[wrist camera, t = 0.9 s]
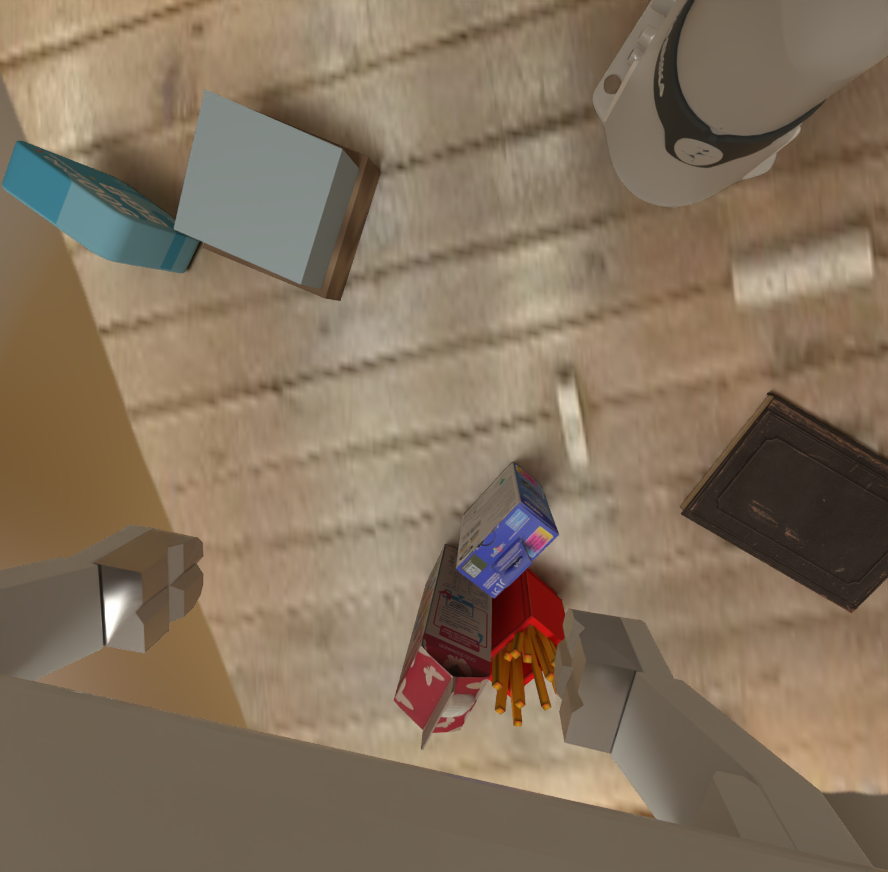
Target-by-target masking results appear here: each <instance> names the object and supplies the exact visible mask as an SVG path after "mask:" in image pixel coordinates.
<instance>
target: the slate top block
mask: <svg viewBox="0 0 888 872" xmlns="http://www.w3.org/2000/svg"><path fill="white" fill-rule="evenodd" d="M358 172H359V168H358V167H357V166H356V164H355V163H354V162H353V161H352V160H351V158H350V157H349V156H348V155H347V154H346V153H345V151H344V150H343V149H342V148H339V147H337V146H335V145H332V144H330V143H328V142H325V141H323V140H321V139H318V138H316V137H314V136H311V135H309V134H307V133H305V132H302V131H300V130H298V129H295V128H293V127H291V126H288V125H286V124H284V123H281V122H279V121H277V120H275V119H272V118H270V117H268V116H265V115H263V114H261V113H258V112H256V111H254V110H251V109H249V108H247V107H245V106H242V105H240V104H238V103H235V102H233V101H231V100H228V99H226V98H224V97H221V96H219V95H217V94H214V93H212V92H210V91H208V90H205V91H204V95H203V100H202V104H201V109H200V113H199V118H198V122H197V127H196V131H195V135H194V140H193V144H192V149H191V153H190V158H189V162H188V167H187V171H186V176H185V180H184V185H183V189H182V194H181V198H180V203H179V207H178V211H177V216H176V220H175V225H174V230H177V231H179V232H181V233H184V234H186V235H188V236H190V237H193V238H195V239H197V240H200V241H202V242H204V243H207V244H209V245H211V246H213V247H216V248H218V249H220V250H223V251H225V252H227V253H230V254H232V255H234V256H236V257H239V258H241V259H243V260H246V261H248V262H250V263H252V264H255V265H257V266H259V267H262V268H264V269H266V270H269V271H271V272H273V273H275V274H278V275H280V276H282V277H285V278H287V279H289V280H292V281H294V282H296V283H298V284H301V285H305V286H310V287H314V288H318V289H321V287H322V284H323V281H324V278H325V275H326V272H327V269H328V265H329V262H330V259H331V256H332V253H333V250H334V247H335V244H336V241H337V237H338V234H339V231H340V228H341V225H342V222H343V219H344V216H345V212H346V209H347V206H348V203H349V200H350V197H351V194H352V190H353V187H354V184H355V181H356V178H357V175H358Z"/></svg>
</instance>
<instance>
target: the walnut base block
mask: <svg viewBox="0 0 888 872" xmlns="http://www.w3.org/2000/svg"><path fill="white" fill-rule="evenodd" d="M249 109H250V108H249ZM251 110H252V109H251ZM256 112H257V111H256ZM258 113H259V112H258ZM261 114H262V113H261ZM263 115H264V114H263ZM265 116H267V115H265ZM268 117H269V116H268ZM270 118H272V117H270ZM272 119H274V118H272ZM275 120H276V119H275ZM277 121H279V120H277ZM279 122H281V121H279ZM281 123H284V122H281ZM284 124H286V123H284ZM286 125H288V126H291V125H289V124H286ZM291 127H293V128H295V129H298V130H300V131H302V132H305V133H307V134H309V135H311V136H314V137H316V138H318V139H321V140H323V141H325V142H328V143H330V144H332V145H335V146H337V147H339V148H342V149H343V150H344V151H345V153H346V154H347V155H348V156H349V157H350V158H351V160H352V161H353V162H354V163H355V164H356V166H357V167H358V168H359V172H358V175H357V178H356V181H355V184H354V187H353V190H352V194H351V197H350V200H349V203H348V206H347V209H346V212H345V216H344V219H343V222H342V225H341V228H340V231H339V234H338V237H337V241H336V244H335V247H334V250H333V253H332V256H331V259H330V262H329V265H328V269H327V272H326V275H325V278H324V281H323V284H322V287H321V289H318V288H314V287H310V286H305V285H301V284H298V283H296V282H294V281H292V280H289V279H287V278H285V277H282V276H280V275H278V274H275V273H273V272H271V271H269V270H266V269H264V268H262V267H259V266H257V265H255V264H252V263H250V262H248V261H246V260H243V259H241V258H239V257H236V256H234V255H232V254H230V253H227V252H225V251H223V250H220V249H218V248H216V247H213V246H211V245H209V244H207V243H204V246H203V248H205V249H207V250H209V251H212V252H214V253H217V254H219V255H221V256H224V257H226V258H229V259H231V260H234V261H236V262H238V263H241V264H243V265H246V266H248V267H250V268H253V269H255V270H258V271H260V272H263V273H265V274H267V275H270V276H272V277H275V278H277V279H280V280H282V281H284V282H287V283H289V284H292V285H294V286H296V287H299V288H301V289H304V290H306V291H309V292H311V293H313V294H316V295H318V296H321V297H323V298H326V299H332V300H338V301H341V297H342V294H343V291H344V288H345V285H346V281H347V278H348V275H349V272H350V269H351V266H352V262H353V259H354V256H355V253H356V250H357V246H358V243H359V240H360V237H361V234H362V230H363V227H364V224H365V221H366V218H367V215H368V211H369V208H370V205H371V202H372V199H373V195H374V192H375V189H376V186H377V183H378V180H379V176H380V172H379V170H378V169H377V168H376V167H375V165H374V164H373V163H372V161H371V160H370V159H369V157H367V156H365V155H362V154H360V153H357V152H355V151H352V150H350V149H348V148H345V147H343V146H340V145H338V144H335V143H333V142H330V141H328V140H326V139H323V138H321V137H318V136H316V135H313V134H311V133H308V132H306V131H303V130H301V129H299V128H296V127H294V126H291Z"/></svg>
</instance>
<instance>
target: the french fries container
mask: <svg viewBox="0 0 888 872" xmlns="http://www.w3.org/2000/svg"><path fill="white" fill-rule="evenodd" d="M564 618H565V612H564V608H563V604H562V600H561V599H560V598H559V597H558V596H557V593H556V592H555V591H554V590H553V589H552V588H551V587H550V586H548V585H547V584H546V583H545V582H544V581H543V580H541V579H540V578H539V577H538V576H537V575H536V574H534V573H533V572H532V571H531V570H530V569H529V568H527V569H526V570H525V571H524V572H523V573H522V574H521V575H520V576H519V577H518V578H517V579H515V580H514V581H513V582H512V583H511V584H510V585H509V586H508V587H506V588H505V589H504V590H503V591H502V592H501V593H500V594H499V595H498V596H497V597H496V598H492V616H491V676H490V678H489V680H490V681H491V682H492V686H493V687H494V688H495V689H496V690H497V696H496V704H495V711H496V712H498V713H499V714H502V713H504V712H505V709H506V700H507V695H508V696H510V697H511V703H512V714H513V725H514V726H519V727H521V725H522V715H521V708H522V707H523V706H525V693H524V686H525V685H526V684H527V683H529V682H530V681H531V680H532V679H535V683H536V687H537V691H538V695H539V699H540V703H541V706H542V708H543V709H544V710H547V709H550V708H551V704H550V700H549V697H548V693H547V689H546V685H545V682H544V678H543V674H542V671H543V673H544V675H545V678H546V679H547V680H549V681H550V682H552V685H553V688H554V691H555V694H557V693H556V689H555V682H554V666H555V656H556V652H557V647H558V643H560V642H561V641H562V640H563V639H565V634H564V630H563V622H564ZM557 695H558V694H557Z"/></svg>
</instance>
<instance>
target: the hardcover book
mask: <svg viewBox="0 0 888 872" xmlns="http://www.w3.org/2000/svg"><path fill="white" fill-rule="evenodd" d="M767 395H769V396H768V397H767V398H766V399H765V401H764V402H763V403H762V404H761V406H760V407H759V408H758V410H757V411H756V412H755V413H754V415H753V416H752V417H751V418H750V420H749V421H748V422H747V423H746V425H745V426H744V427H743V428H742V430H741V431H740V432H739V433H738V435H737V436H736V437H735V438H734V440H733V441H732V442H731V443H730V445H729V446H728V447H727V449H726V450H725V451H724V452H723V454H722V455H721V456H720V457H719V459H718V460H717V461H716V462H715V464H714V465H713V466H712V467H711V469H710V470H709V471H708V472H707V474H706V475H705V476H704V477H703V479H702V480H701V481H700V482H699V484H698V485H697V486H696V488H695V489H694V490H693V491H692V493H691V494H690V495H689V496H688V498H687V499H686V500H685V501H684V503H683V504H682V505H681V506H680V508H681V509H682V510H683V512H682V513H681V514H682V515H683V516H685V517H687V518H688V519H690V520H692V521H694V522H695V523H697V524H699V525H700V526H702V527H704V528H706V529H707V530H709V531H711V532H713V533H714V534H716V535H718V536H719V537H721V538H723V539H725V540H726V541H728V542H730V543H731V544H733V545H735V546H737V547H738V548H740V549H742V550H744V551H745V552H747V553H749V554H750V555H752V556H754V557H756V558H757V559H759V560H761V561H762V562H764V563H766V564H768V565H769V566H771V567H773V568H775V569H776V570H778V571H780V572H781V573H783V574H785V575H787V576H788V577H790V578H792V579H793V580H795V581H797V582H799V583H800V584H802V585H804V586H806V587H807V588H809V589H811V590H812V591H814V592H816V593H818V594H819V595H821V596H823V597H824V598H826V599H828V600H830V601H831V602H833V603H835V604H837V605H838V606H840V607H842V608H843V609H845V610H847V611H849V612H850V613H853V612H854V611H855V610H856V609H857V608H858V607H859V606H860V605H861V604H862V603H863V602H864V601H865V600H866V599H867V598H868V597H869V596H870V595H871V594H872V593H873V592H874V591H875V590H876V589H877V588H878V587H879V586H880V585H881V584H882V583H883V582H884V581H885V580H886V579H887V578H888V461H887V460H885V459H883V458H882V457H880V456H878V455H876V454H875V453H873V452H871V451H870V450H868V449H866V448H865V447H863V446H861V445H860V444H858V443H856V442H854V441H853V440H851V439H849V438H848V437H846V436H844V435H843V434H841V433H839V432H838V431H836V430H834V429H833V428H831V427H829V426H827V425H826V424H824V423H822V422H821V421H819V420H817V419H816V418H814V417H812V416H811V415H809V414H807V413H805V412H804V411H802V410H800V409H799V408H797V407H795V406H794V405H792V404H790V403H789V402H787V401H785V400H783V399H782V398H780V397H778V396H777V395H775V394H773V393H767Z"/></svg>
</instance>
